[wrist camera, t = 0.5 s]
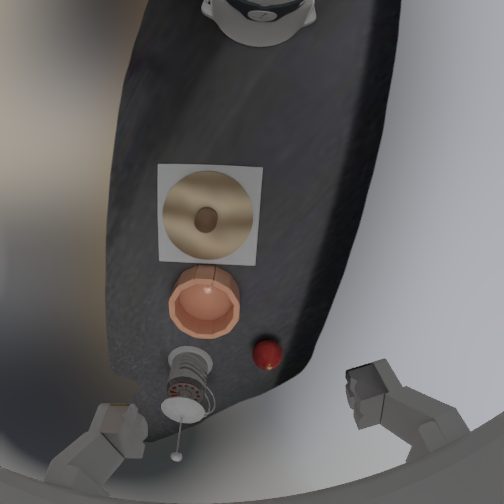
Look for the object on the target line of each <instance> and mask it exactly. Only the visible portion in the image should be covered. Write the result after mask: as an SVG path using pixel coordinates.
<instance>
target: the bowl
mask: <svg viewBox="0 0 504 504" xmlns="http://www.w3.org/2000/svg"><path fill="white" fill-rule="evenodd" d="M239 309H240V295H239V287H238V285H237V284H236V282H235V280H234V279H233V277H232V275H231V274H229V273H228V272H226V271H224V270H223V269H221V268H219V267H217V266H216V267H215V265H196V266H194V267H192V268H190V269H188V270H186V271H184V272H183V273H182V274H181V275H180V277H179V278H178V280H177V282H176V283H175V285H174V288H173V290H172V293H171V296H170V298H169V312H170V317H171V319H172V320H173V321H174V323H175V324H176V325H177V327H178V328H179V329H180V330H181V331H183V332H185V333H187V334H189V335H191V336H193V337H196V338H205V339H213V338H217V337H219V336H222V335H224V334H227V333H228V332H230V331H231V329H232V328H233V327H234V326H235V324H236V323H237V322H238V321H239Z"/></svg>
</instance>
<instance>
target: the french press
mask: <svg viewBox="0 0 504 504" xmlns="http://www.w3.org/2000/svg"><path fill="white" fill-rule="evenodd" d="M168 363H169V365H170V367H171V370H170V374H169V379H168V384H167V395H168V397H169V398H167V399H165V400H164V402H163V403H162V404H161V410H162V411H163V413H164V414H165V415H166V416H167V417H169V418H170V419H172V420H175V421H177V422H180V429H179V437H180V431H181V423H194V422H197V421H199V420H201V419H202V418H203V417H205V416H207V415H208V414H209V413H211V412H213V410H214V409H215V399H214V408H213V410H212V411H210V403H209V399H208V397H207V396H206V394H205V391H206V388H207V389H208V390H209V391H210V389H209V388H208V387H207V386H206V380H207V374H209V372H210V371H211V370H212V365H213V362H212V360H211V357H210V356H209V355H208V354H207V353H206V352H205V351H203V350H201V349H199V348H197V347H192V346H183V347H178V348H176V349H174V350H173V351H172V352H171V353H170V355H169V357H168ZM204 376H205V377H204ZM176 377H177V378H178V380H180V381H182V382H178V381H177V379H176ZM173 378H174V379H175V380H176V382H177V383H175V381H174V380H173ZM202 378H203V379H204V381H203V380H202ZM171 379H172V381H173V383H174V384H172V382H171ZM169 381H170V383H171V386H170V383H169ZM190 382H192V384H190ZM202 385H203V386H204V387H203V391H202V390H201V387H202ZM202 392H203V393H202ZM210 393H211V394H212V392H211V391H210ZM204 395H205V396H206V398H207V400H208V403H209V411H208V413H207V412H205V411H204V409H203V407H202V406H201V405H200V403H201V402H202V400H203V397H204ZM212 396H213V394H212ZM213 398H214V396H213ZM204 414H206V415H204ZM179 437H178V444H177V451H176V452H174V453H171V458H172V459H173V460H174V461H180V460H181V459H182V455H181V454H180V453H178V445H179Z"/></svg>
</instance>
